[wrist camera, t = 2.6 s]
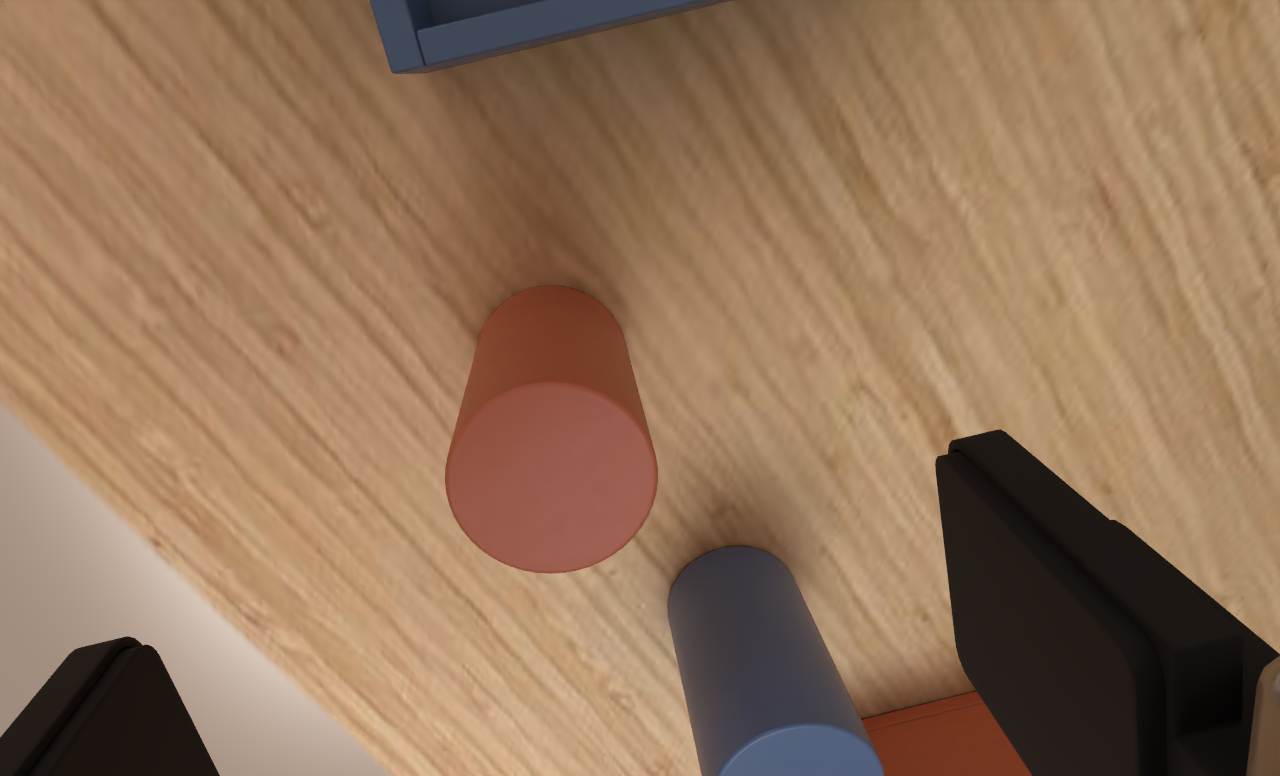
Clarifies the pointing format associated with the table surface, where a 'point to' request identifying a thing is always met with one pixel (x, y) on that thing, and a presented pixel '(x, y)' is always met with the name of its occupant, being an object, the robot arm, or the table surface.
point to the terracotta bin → (944, 740)
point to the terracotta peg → (551, 436)
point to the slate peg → (761, 673)
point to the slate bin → (499, 26)
